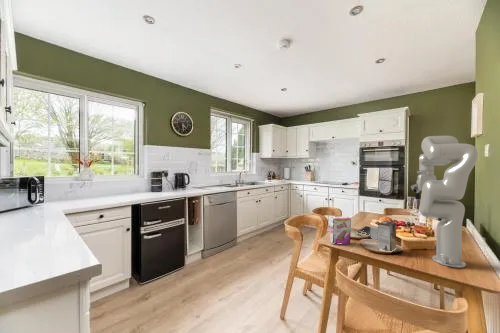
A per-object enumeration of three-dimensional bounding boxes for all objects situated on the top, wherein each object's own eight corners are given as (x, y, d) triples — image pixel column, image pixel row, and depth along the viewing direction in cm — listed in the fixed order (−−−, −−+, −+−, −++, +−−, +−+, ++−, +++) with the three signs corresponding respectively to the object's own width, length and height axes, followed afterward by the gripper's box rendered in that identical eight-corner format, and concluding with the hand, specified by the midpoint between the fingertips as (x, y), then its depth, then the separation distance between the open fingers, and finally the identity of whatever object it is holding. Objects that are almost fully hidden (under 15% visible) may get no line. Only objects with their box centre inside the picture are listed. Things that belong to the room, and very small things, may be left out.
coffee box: (384, 247, 134) (384, 220, 133) (396, 250, 129) (396, 222, 128) (377, 251, 128) (378, 223, 127) (390, 254, 123) (390, 225, 123)
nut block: (377, 240, 146) (377, 228, 146) (370, 238, 149) (370, 227, 149) (379, 238, 149) (379, 227, 149) (372, 236, 152) (372, 226, 152)
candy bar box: (333, 245, 138) (333, 218, 137) (329, 242, 143) (330, 216, 142) (351, 244, 138) (351, 218, 138) (347, 241, 143) (347, 216, 143)
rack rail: (367, 237, 151) (367, 234, 151) (355, 234, 157) (355, 231, 157) (377, 230, 165) (377, 228, 165) (365, 228, 171) (365, 226, 171)
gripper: (413, 173, 145) (413, 199, 145) (445, 173, 140) (445, 200, 140) (408, 172, 152) (408, 198, 152) (439, 173, 147) (438, 199, 147)
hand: (426, 199), depth 146 cm, fingers open, 9 cm apart
